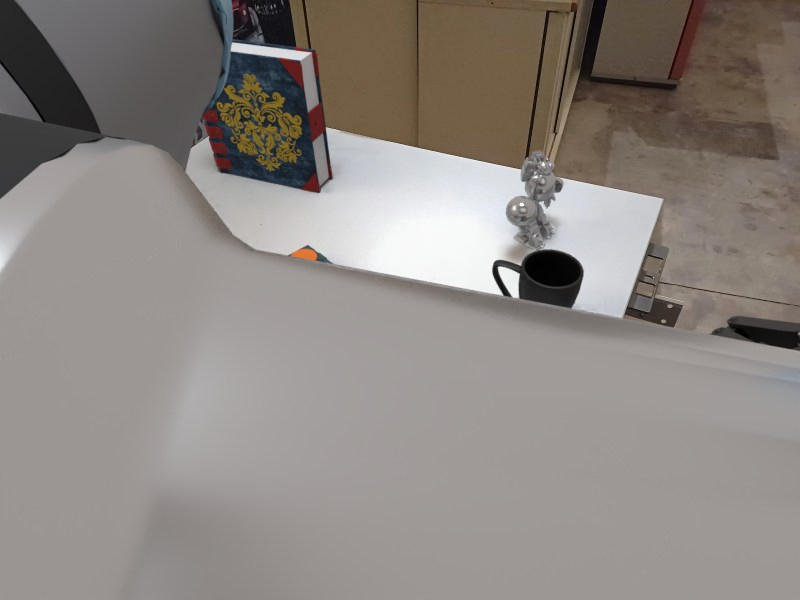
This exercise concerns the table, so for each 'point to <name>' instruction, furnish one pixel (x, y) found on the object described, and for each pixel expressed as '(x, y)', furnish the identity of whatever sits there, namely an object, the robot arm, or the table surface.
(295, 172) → the book
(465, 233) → the table surface
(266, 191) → the table surface
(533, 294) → the mug
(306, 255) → the console button
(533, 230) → the robot toy
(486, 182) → the table surface
